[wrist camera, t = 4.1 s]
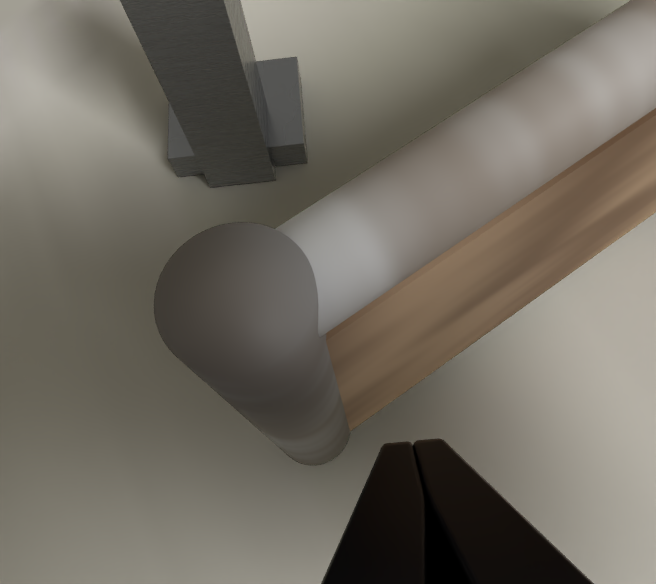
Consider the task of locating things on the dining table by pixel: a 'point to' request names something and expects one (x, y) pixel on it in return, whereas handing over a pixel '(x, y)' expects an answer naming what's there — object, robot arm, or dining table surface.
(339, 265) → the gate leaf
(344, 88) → the dining table surface
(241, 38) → the gate posts
